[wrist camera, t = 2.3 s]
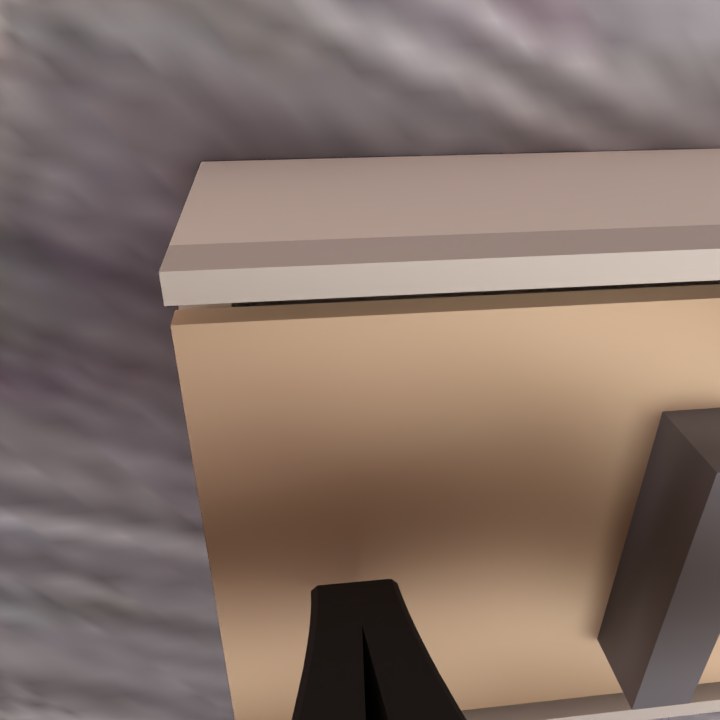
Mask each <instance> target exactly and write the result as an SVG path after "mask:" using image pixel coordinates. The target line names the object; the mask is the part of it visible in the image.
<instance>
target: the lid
mask: <svg viewBox="0 0 720 720" xmlns="http://www.w3.org/2000/svg"><path fill="white" fill-rule="evenodd" d="M171 331H172V337H173V344H174V350H175V356H176V362H177V368H178V374H179V380H180V387H181V393H182V399H183V405H184V411H185V417H186V423H187V429H188V436H189V442H190V448H191V454H192V460H193V466H194V472H195V478H196V485H197V491H198V497H199V503H200V509H201V515H202V521H203V528H204V534H205V540H206V546H207V552H208V558H209V564H210V570H211V577H212V583H213V589H214V595H215V601H216V607H217V613H218V620H219V626H220V632H221V638H222V644H223V650H224V656H225V662H226V669H227V675H228V681H229V687H230V693H231V699H232V705H233V711H234V718H235V720H292V716H293V712H294V707H295V703H296V698H297V694H298V689H299V685H300V680H301V676H302V671H303V666H304V660H305V654H306V648H307V642H308V635H309V626H310V614H311V590H313V589H314V588H315V587H316V586H317V585H327V584H338V583H349V582H360V581H371V580H382V579H392V580H394V581H395V582H397V583H398V586H399V589H400V592H401V594H402V597H403V599H404V602H405V604H406V606H407V609H408V611H409V613H410V616H411V618H412V620H413V622H414V624H415V626H416V629H417V631H418V633H419V635H420V637H421V639H422V641H423V643H424V645H425V647H426V649H427V651H428V653H429V655H430V656H431V658H432V660H433V662H434V664H435V666H436V668H437V669H438V671H439V673H440V675H441V677H442V678H443V680H444V682H445V684H446V685H447V687H448V689H449V691H450V692H451V694H452V696H453V697H454V699H455V701H456V703H457V704H458V706H459V708H460V710H461V711H462V710H471V709H479V708H488V707H497V706H506V705H515V704H524V703H533V702H542V701H551V700H560V699H569V698H578V697H587V696H596V695H605V694H614V693H624V695H625V697H626V699H627V701H628V703H629V705H630V707H631V709H632V710H637V709H645V708H654V707H663V706H672V705H680V704H689V703H690V701H691V699H692V697H693V694H694V692H695V690H696V688H697V685H698V684H703V683H712V682H720V284H714V285H693V286H672V287H650V288H629V289H608V290H587V291H566V292H545V293H524V294H503V295H482V296H461V297H440V298H419V299H397V300H376V301H355V302H334V303H313V304H292V305H271V306H250V307H229V308H208V309H187V310H175V312H174V315H173V319H172V322H171Z"/></svg>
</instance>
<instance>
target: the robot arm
mask: <svg viewBox="0 0 720 720" xmlns="http://www.w3.org/2000/svg"><path fill="white" fill-rule="evenodd" d="M292 720H467V719H466V718H465V716H464V715H463V713H462V711H461V710H460V708H459V706H458V704H457V703H456V701H455V699H454V697H453V696H452V694H451V692H450V691H449V689H448V687H447V685H446V684H445V682H444V680H443V678H442V677H441V675H440V673H439V671H438V669H437V668H436V666H435V664H434V662H433V660H432V658H431V656H430V655H429V653H428V651H427V649H426V647H425V645H424V643H423V641H422V639H421V637H420V635H419V633H418V631H417V629H416V626H415V624H414V622H413V620H412V618H411V616H410V613H409V611H408V609H407V606H406V604H405V602H404V599H403V597H402V594H401V592H400V589H399V586H398V583H397V582H395V581H394V580H392V579H382V580H371V581H360V582H349V583H338V584H327V585H317V586H316V587H315V588H314V589H313V590H311V614H310V626H309V635H308V642H307V648H306V654H305V660H304V666H303V671H302V676H301V680H300V685H299V689H298V694H297V698H296V703H295V707H294V712H293V716H292ZM650 720H668V718H659V719H650Z"/></svg>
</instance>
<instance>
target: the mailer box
mask: <svg viewBox="0 0 720 720" xmlns="http://www.w3.org/2000/svg"><path fill="white" fill-rule="evenodd" d="M159 277H160V283H161V289H162V295H163V301H164V306H177V305H178V307H179V310H187V309H208V308H229V307H250V306H271V305H292V304H313V303H334V302H355V301H376V300H397V299H419V298H440V297H461V296H482V295H503V294H524V293H545V292H566V291H587V290H608V289H629V288H650V287H672V286H693V285H714V284H720V149H680V150H641V151H602V152H563V153H524V154H484V155H445V156H406V157H367V158H328V159H288V160H249V161H210V162H201V164H200V166H199V169H198V172H197V174H196V177H195V179H194V182H193V185H192V187H191V190H190V192H189V195H188V197H187V200H186V203H185V205H184V208H183V210H182V213H181V216H180V218H179V221H178V223H177V226H176V228H175V231H174V234H173V236H172V239H171V241H170V244H169V247H168V249H167V252H166V254H165V257H164V259H163V262H162V265H161V267H160V270H159ZM719 711H720V682H712V683H703V684H698V685H697V688H696V690H695V692H694V694H693V697H692V699H691V701H690V703H689V704H680V705H672V706H663V707H654V708H645V709H637V710H632V709H631V707H630V705H629V703H628V701H627V699H626V697H625V695H624V693H614V694H605V695H596V696H587V697H578V698H569V699H560V700H551V701H542V702H533V703H524V704H515V705H506V706H497V707H488V708H479V709H471V710H462V713H463V715H464V716H465V718H466V719H467V720H650V719H659V718H667V717H676V716H684V715H693V714H702V713H710V712H719Z"/></svg>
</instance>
